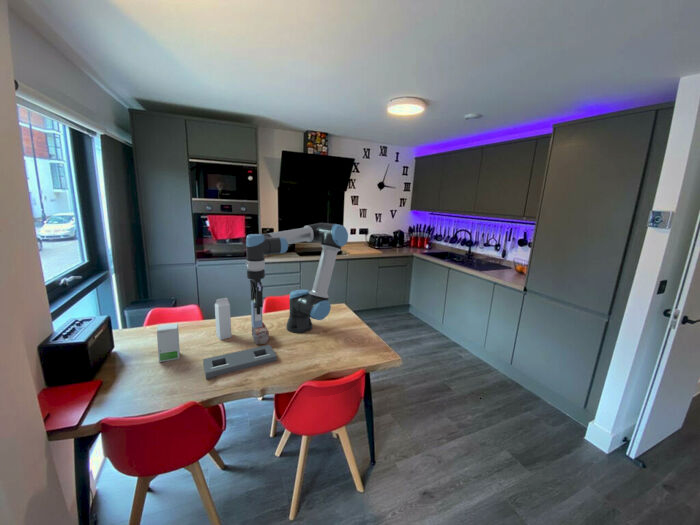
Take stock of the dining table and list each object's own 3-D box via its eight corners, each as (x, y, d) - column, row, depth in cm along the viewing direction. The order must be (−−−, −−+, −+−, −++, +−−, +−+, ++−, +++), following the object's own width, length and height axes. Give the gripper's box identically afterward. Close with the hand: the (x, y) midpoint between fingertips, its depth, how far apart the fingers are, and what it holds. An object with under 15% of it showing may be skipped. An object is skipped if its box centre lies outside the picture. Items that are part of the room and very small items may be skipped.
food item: (270, 344, 151) (270, 327, 148) (255, 348, 146) (254, 330, 144) (264, 333, 162) (263, 317, 160) (249, 336, 158) (248, 320, 156)
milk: (231, 337, 156) (230, 299, 152) (220, 340, 152) (218, 301, 148) (227, 333, 161) (225, 295, 156) (216, 336, 157) (214, 298, 152)
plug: (260, 323, 135) (259, 297, 133) (262, 326, 132) (262, 300, 129) (251, 324, 133) (250, 298, 130) (253, 328, 130) (252, 301, 127)
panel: (269, 349, 145) (269, 344, 144) (276, 361, 135) (276, 355, 134) (203, 365, 130) (203, 358, 129) (206, 379, 120) (205, 372, 119)
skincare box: (158, 362, 130) (155, 331, 127) (160, 355, 136) (157, 325, 132) (180, 358, 134) (177, 328, 130) (180, 352, 139) (178, 322, 136)
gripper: (243, 265, 132) (244, 313, 137) (251, 274, 118) (252, 327, 123) (259, 264, 136) (260, 310, 141) (269, 272, 122) (270, 324, 127)
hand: (256, 318), depth 132 cm, fingers closed on plug, 4 cm apart
